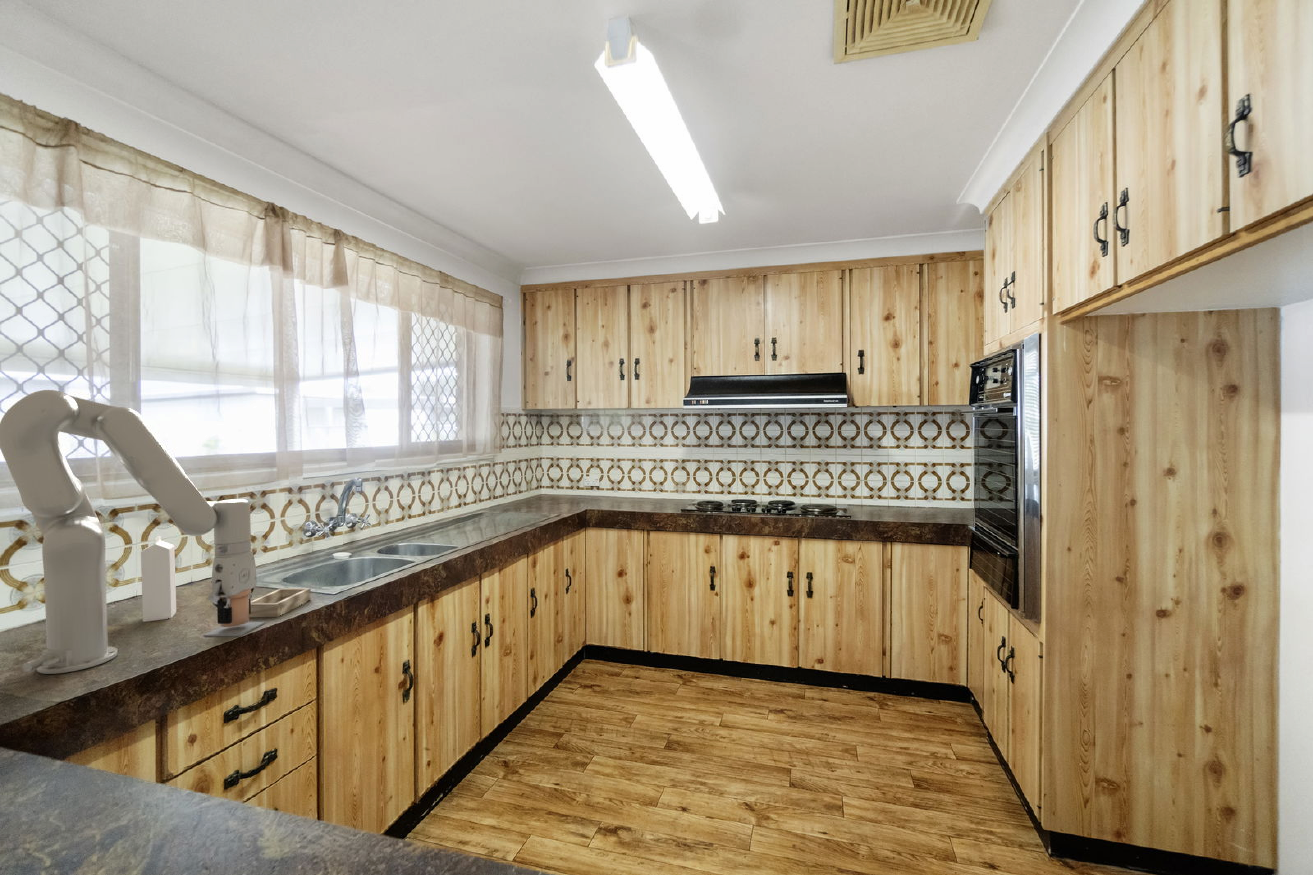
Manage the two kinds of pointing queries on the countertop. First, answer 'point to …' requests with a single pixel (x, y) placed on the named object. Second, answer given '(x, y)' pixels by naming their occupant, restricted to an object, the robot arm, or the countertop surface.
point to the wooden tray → (279, 602)
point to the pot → (239, 608)
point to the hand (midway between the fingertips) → (234, 618)
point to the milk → (158, 581)
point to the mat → (234, 629)
